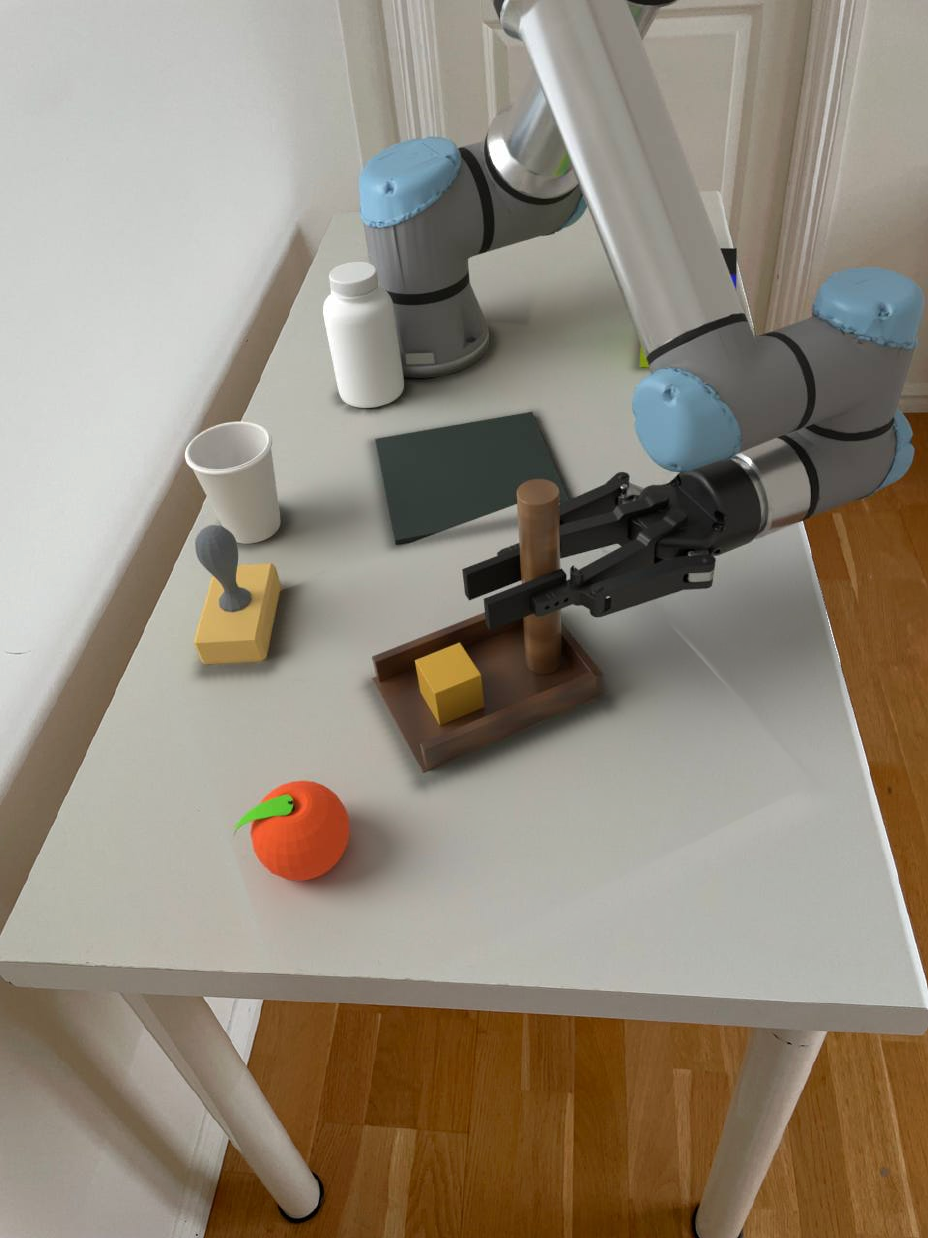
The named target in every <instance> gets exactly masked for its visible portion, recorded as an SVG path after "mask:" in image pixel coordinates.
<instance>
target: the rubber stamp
mask: <svg viewBox="0 0 928 1238" xmlns="http://www.w3.org/2000/svg"><path fill="white" fill-rule="evenodd" d="M194 546H195V547H194V549H195V554H196V557H197V560H198V561H199V563H200V564H201V565H202V567H203V568H204V569H205V570H206V571H208V573H210V575H211V579H210V582H209V586H208V590H207V593H206V597H205V599H204V603H203V606H202V610H201V614H200V619H199V620H198V621H199V622H198V625H197V627H196V632H195V636H194V639H193V645H194V647H195V650H196V652H197V654H198V657H199V659H200V662H201V663H202V664H203V665H214V664H233V663H234V664H236V663H251V662H263V661H264V660H266V659H267V657H268V652H269V648H270V643H271V637H272V632H273V627H274V622H275V618H276V613H277V609H278V608H277V607H278V602H279V598H280V594H281V593H280V592H281V591H283V587H282V583H281V579H280V576H279V574H278V570H277V566H276V565H274V564H273V563H272V562H267V563H264V562H263V563H251V564H239V548H238V543H237V542H236V539H235V537H234V536H233V534H232V533H231V532H230V531H229V530H227V529H226V528H224V527H223V526H222V525H217V524H211V525H206V526H204V527H203V528H202V529H201V530H200V531H199V532H198V533H197V535H196V537H195V539H194Z"/></svg>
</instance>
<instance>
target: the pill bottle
mask: <svg viewBox="0 0 928 1238" xmlns="http://www.w3.org/2000/svg"><path fill="white" fill-rule="evenodd" d="M328 281H329V286H330V294H329V295H328V296H327V297H326V298H325V300H324V303H323V307H322V315H323V320H324V327H325V331H326V336H327V340H328V345H329V350H330V355H331V360H332V365H333V370H334V375H335V380H336V385H337V391H338V393H339V397H340V398H341V400H342V402H344V403H345V404H347V405H348V406H351V407H354V408H359V409H370V408H378V407H382V406H384V405H388V404H390V403H392V402H394V401H396V400H397V399H398V398H400V396H401V395H402V394H403V392H404V389H405V379H404V378H405V377H403V370H402V363H401V356H400V349H399V342H398V335H397V328H396V321H395V314H394V307H393V302H392V299H391V297H390V295H389V294H388V292H387V291H385V290H384V289H383V288H381V287H379V286H378V274H377V269H376V268H375V267H374V266H373V265H372V264H370V262H365V261H351V262H350V261H349V262H346V263H343V264H342V263H341V264H340V265H337V266H335V267H333V268H332V269H331V271H330V272H329V274H328Z"/></svg>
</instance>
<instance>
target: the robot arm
mask: <svg viewBox="0 0 928 1238" xmlns="http://www.w3.org/2000/svg"><path fill="white" fill-rule="evenodd" d="M679 1H680V0H491V2H492V5H493V7H494V10H495V13H496V15H497V18H498V20H499V23H500V26H501V27H502V30H503V31H504V33H505V34H506V36H507V37H509V38H511V39H513V40H516V41H519V42H523V45H524V47H525V49H526V53H527V55H528V57H529V60H530V65H529V67H528V70H527V72H526V74H525V77H524V79H523V82H522V85H521V86H520V90H519V91H518V94H517V96H516V99H515V101H514V102H511V103H509V104H507V105H506V106H504V107H503V108H502V109H500V111H498V112H497V114H496V115H495V116H494V118H493V119H492V121H491V123H490V125H489V128H488V130H487V133H486V136H485V138H484V139H483V140H481V141H478V142H475V143H471V144H466V145H463V146H460V147H458V146H457V144H456V143H455V142H454V141H453V140H451V139H449V138H446V137H442V136H426V137H423V138H421V139H420V138H419V137H414V138H411V139H407V140H403V141H399V142H397V143H395V144H394V143H393V144H391V145H390V146H388V147H385V148H384V149H382V150H380V151H379V152H377V153H375V155H373V156H372V157H371V158H370V159H369V160H368V161H367V162H366V163H365V166H364V167H363V168H362V169H361V171H360V174H359V177H358V183H357V184H358V194H359V205H360V206H359V216H360V220H361V222H362V224H363V230H364V236H365V237H364V238H365V242H366V248H367V255H368V261H369V262H368V263H369V264H372V265H373V266H374V267H375V268H376V269H377V274H378V286H379V287H381V288H383V289H384V290H385V291H387V292H388V294H389V295H390V297H391V299H392V302H393V307H394V314H395V321H396V328H397V335H398V342H399V349H400V356H401V363H402V370H403V377H404V378H411V379H413V378H414V379H423V378H424V379H427V378H435V377H442V376H447V375H450V374H454V373H456V372H459V371H462V370H464V369H466V368H468V367H470V366H472V365H473V364H475V363H476V362H478V361H480V359H481V358H482V357H483V356H484V355H485V354H486V352H487V351H488V349H489V347H490V334H489V326H488V323H487V319H486V317H485V315H484V313H483V311H482V308H481V305H480V304H479V301H478V299H477V296H476V294H475V292H474V290H473V287H472V284H471V281H470V280H471V279H470V269H469V259H470V258H472V257H475V256H476V257H477V256H478V255H482V254H485V253H488V252H492V251H495V250H498V249H501V248H504V247H508V246H509V247H510V246H512V245H516V244H519V243H521V242H525V241H528V240H532V239H535V238H538V237H545V236H551V235H554V234H556V233H559V232H561V231H562V230H564V229H565V228H568V227H570V226H571V227H572V225H574V224H576V222H578V221H579V220H580V219H581V218H582V216H583V215H584V214H585V213H586V211H587V210H588V213H589V215H590V217H591V220H592V223H593V225H594V227H595V228H594V229H595V230H596V233H597V235H598V238H599V240H600V243H601V246H602V248H603V251H604V253H605V257H606V259H607V261H608V263H609V266H610V269H611V271H612V274H613V277H614V280H615V282H616V285H617V287H618V289H619V293H620V295H621V297H622V300H623V303H624V305H625V307H626V309H627V312H628V315H629V318H630V320H631V323H632V325H633V328H634V331H635V333H636V336H637V338H638V341H639V344H640V347H641V346H642V349H643V351H644V354H645V357H646V359H647V362H648V364H649V366H650V368H649V371H650V374H649V375H646V376H645V377H643V378H642V379H641V380H640V381H639V383H638V384H637V385H636V387H635V389H634V391H633V395H632V400H631V409H632V414H633V415H634V417H635V421H634V424H633V426H634V431H635V433H636V436H637V438H638V441H639V443H640V445H641V447H642V448H643V450H644V451H645V452H646V454H647V456H648V457H649V458H650V459H651V460H652V461H653V462H654V463H655V464H656V465H658V466H659V467H661V468H662V469H664V470H666V471H669V472H673V473H677V474H676V476H674V477H673V479H671V480H670V481H669V482H667V483H664V484H663V483H662V484H650V485H648V486H646V487H642V486H639V485H637V484H634V483H632V482H630V477H631V476H630V474H629V472H625V471H619V472H617V473H615V474H614V475H613V476H612V477H611V478H610V479H609V480H607V482H605V483H604V484H602V485H599V486H597V487H595V488H593V489H591V490H589V491H586V492H584V493H582V494H579V495H577V496H575V497H572V498H571V499H570V498H569V500H568V501H566V502H564V503H562V504H560V503H559V508H560V560H562V559H564V558H568V557H572V556H576V555H580V554H583V553H587V552H591V551H595V550H598V549H602V548H607V547H609V546H614V545H619V546H620V547H618V548H616V549H614V550H613V551H610V552H609V553H607V554H605V555H604V556H601V557H599V558H598V559H595V560H594V561H592V562H590V563H589V564H587V565H585V566H583V567H581V568H579V569H578V568H577V567H576V566H575V565H572V566H571V567H570V568H569V579H567V578H568V577H567V573H566V572H565V570H564V569H563V568H561V567H560V569H559V570H556V571H554V572H551V573H549V574H546V575H543V576H541V577H538V578H536V579H533V580H531V581H528V582H525V583H523V584H522V583H520V584H517V585H515V586H513V587H510V588H507V589H505V590H502V591H500V592H498V593H495V594H493V595H490V596H487V597H485V598H483V607H484V612H485V619H486V625H487V627H488V628H489V629H490V631H491V630H494V629H496V628H499V627H501V626H504V625H506V624H509V623H511V622H514V621H516V620H519V619H521V618H524V617H526V616H529V615H531V614H535V616H536V617H539V616H545V615H547V614H550V613H552V612H555V611H557V610H560V609H561V610H562V609H564V608H567V607H570V606H577V607H581V606H583V607H584V608H586V609H587V610H589V614H590V615H591V616H592V617H594V618H602V617H606V616H609V615H612V614H615V613H618V612H621V611H624V610H627V609H630V608H633V607H636V606H639V605H642V604H645V603H648V602H651V601H654V600H657V599H660V598H664V597H666V596H670V595H672V594H675V593H679V592H682V591H691V590H702V589H703V590H706V589H710V588H711V587H712V586H713V583H714V576H715V569H716V563H717V562H716V561H717V560H716V557H717V556H721V555H724V554H726V553H728V552H731V551H733V550H736V549H738V548H741V547H744V546H746V545H748V544H750V543H752V542H753V541H754V540H758V539H761V538H764V537H766V536H769V535H771V534H774V533H776V532H779V531H781V530H784V529H786V528H789V527H791V526H795V525H796V524H798V523H801V522H804V521H806V520H808V519H810V518H813V517H816V516H818V515H821V514H823V513H825V512H828V511H830V510H834V509H836V508H838V507H841V506H844V505H847V504H849V503H851V502H852V503H853V502H856V501H860V500H863V499H866V498H868V497H871V496H872V495H873V494H875V493H877V492H878V491H880V490H882V489H884V488H886V487H888V486H890V485H892V484H894V483H896V482H897V481H899V480H900V479H901V478H903V477H904V476H905V474H906V473H907V472H908V471H909V469H910V467H911V466H912V463H913V460H914V457H915V456H914V455H915V447H914V446H913V444H912V437H913V436H914V432H913V430H912V427H911V424H910V422H909V420H908V418H907V417H906V415H905V414H904V413H903V412H902V411H901V410H900V409H899V408H898V405H899V402H900V399H901V397H902V393H903V392H902V391H903V388H904V385H905V383H906V379H907V375H908V373H909V369H910V366H911V364H912V363H911V362H912V359H913V356H914V353H915V350H916V348H917V346H918V344H919V338H918V335H919V332H920V327H921V322H922V318H923V314H924V309H925V295H924V291H923V289H922V288H921V287H920V286H919V284H918V283H917V282H916V281H915V280H914V279H912V278H910V277H908V276H905V275H903V274H902V273H900V272H898V271H895V270H891V269H888V268H882V267H877V266H876V267H874V266H858V267H857V266H856V267H850V268H845V269H841V270H838V271H836V272H834V273H832V274H831V275H829V276H828V277H827V279H825V281H824V282H823V283H822V284H820V286H819V287H818V290H817V293H816V296H815V299H814V302H813V303H812V304H811V311H812V312H811V316H809V317H807V318H805V319H802V320H800V321H797V322H794V323H791V324H788V325H786V326H783V327H779V328H777V329H774V330H773V331H772V330H771V331H769V332H766V333H763V334H759V335H756V336H755V335H754V333H753V330H752V328H751V325H750V323H749V321H748V318H747V315H746V313H745V310H744V308H743V305H742V303H741V299H740V297H739V293H738V291H737V288H736V289H735V286H734V284H733V281H732V278H731V276H730V273H729V270H728V268H727V265H726V262H725V260H724V257H723V254H722V252H721V249H720V248H721V247H720V244H719V241H718V238H717V237H716V233H715V230H714V228H713V225H712V222H711V220H710V217H709V214H708V213H707V209H706V207H705V204H704V202H703V198H702V196H701V193H700V191H699V189H698V185H697V183H696V180H695V177H694V175H693V173H692V169H691V167H690V164H689V162H688V159H687V157H686V156H687V155H686V154H685V151H684V148H683V146H682V143H681V140H680V138H679V135H678V132H677V129H676V128H675V125H674V122H673V119H672V117H671V115H670V112H669V109H668V106H667V104H666V101H665V99H664V95H663V93H662V90H661V88H660V87H661V86H660V85H659V82H658V80H657V77H656V74H655V72H654V69H653V67H652V64H651V61H650V58H649V55H648V53H647V50H646V48H645V45H644V42H643V40H644V38H645V36H646V35H647V33H648V31H649V30H650V28H651V27H652V24H653V23H654V21H655V19H656V17H657V16H658V13H659V12H660V10H661V9H662V8H664V7H668V6H670V5H673V4H676V3H677V2H679ZM461 571H462V579H463V588H464V595H465V597H466V599H468V601H469V602H470V601H472V600H474V599H477V598H480V597H482V596H485V595H488V594H490V593H492V592H495V591H497V590H501V589H502V588H506V587H508V586H511V585H513V584H516V583H518V582H521V564H520V546H519V542H517V543H514V544H513V545H510V546H508V547H504V548H502V549H500V550H498V551H497V552H496V556H493V557H489V558H488V559H485V560H483V561H482V560H481V561H480V562H477V563H474V564H472V565H469V566H467V567H464V568H461Z"/></svg>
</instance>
